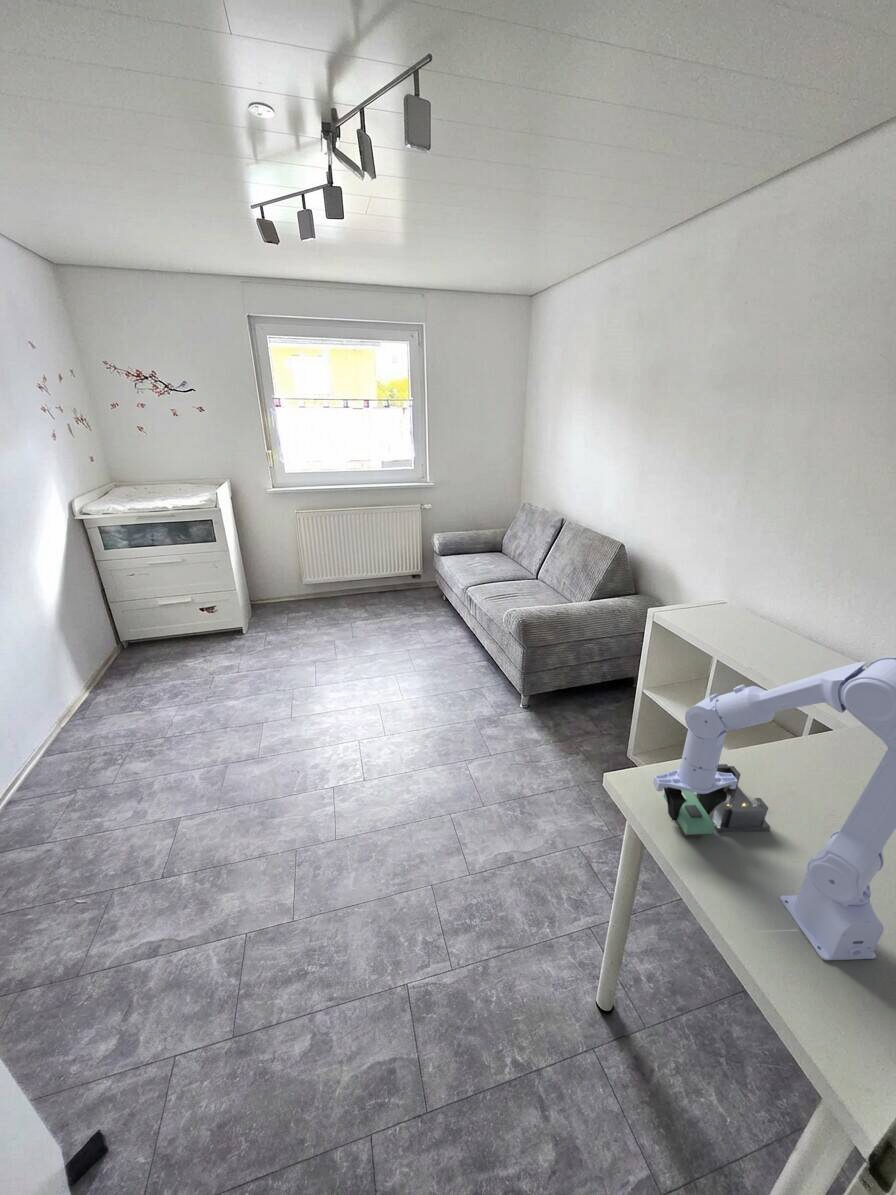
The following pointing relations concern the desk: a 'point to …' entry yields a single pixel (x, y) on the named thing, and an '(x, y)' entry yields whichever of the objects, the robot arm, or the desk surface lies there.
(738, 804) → the chassis
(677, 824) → the dark grey rectangular block
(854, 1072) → the desk surface
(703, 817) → the board
